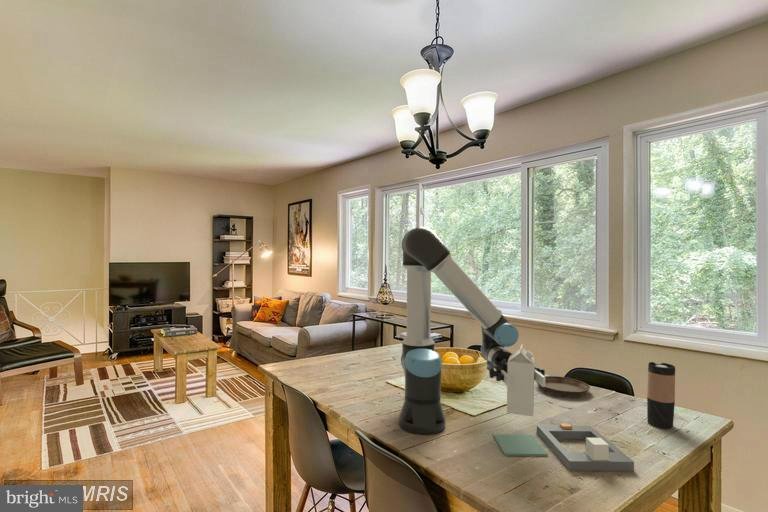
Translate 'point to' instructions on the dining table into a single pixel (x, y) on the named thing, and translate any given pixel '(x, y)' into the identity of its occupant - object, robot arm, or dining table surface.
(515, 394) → the milk carton
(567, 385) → the plant saucer
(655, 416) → the travel mug
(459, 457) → the dining table surface
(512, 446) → the felt pad
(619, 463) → the grey open frame
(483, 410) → the dining table surface
